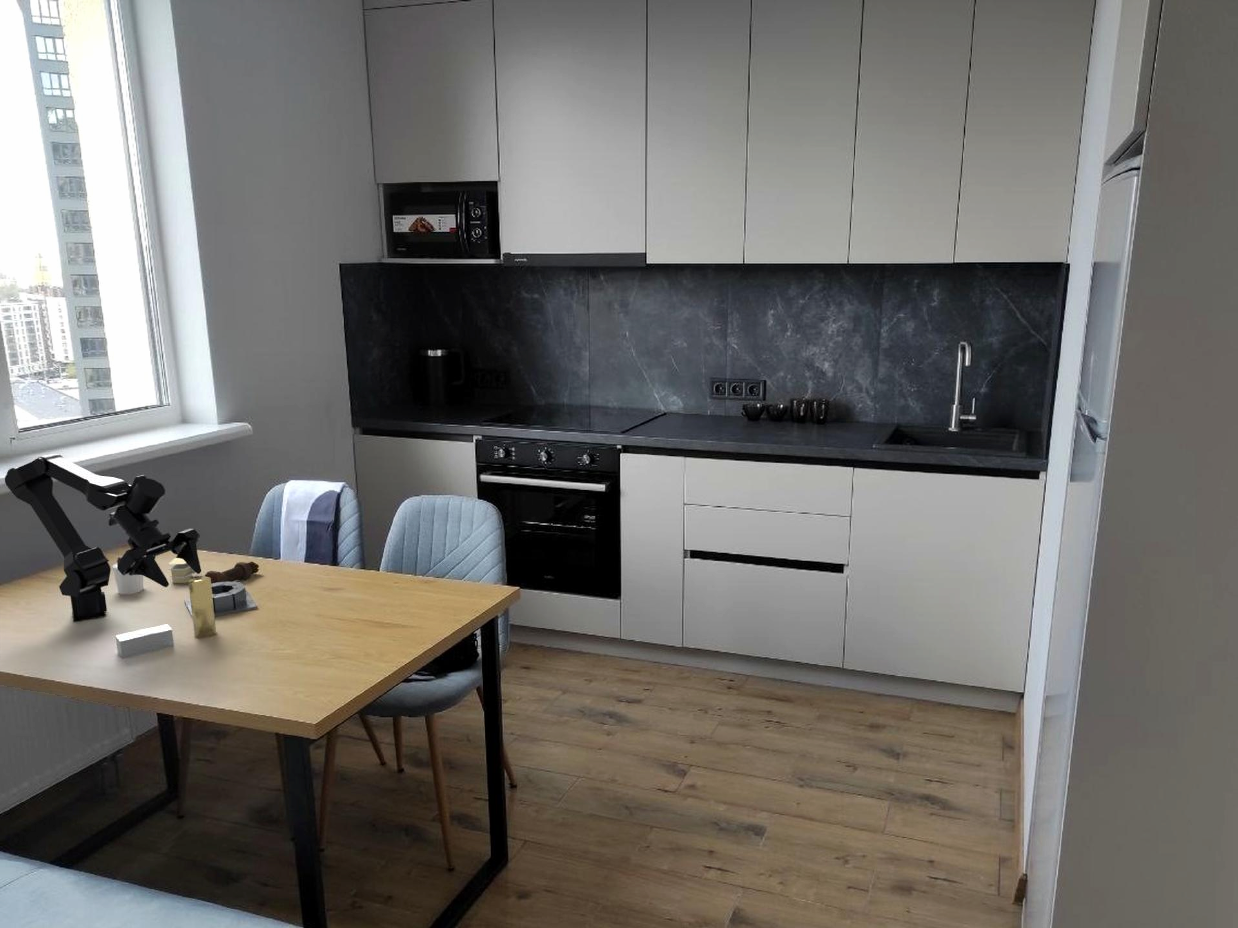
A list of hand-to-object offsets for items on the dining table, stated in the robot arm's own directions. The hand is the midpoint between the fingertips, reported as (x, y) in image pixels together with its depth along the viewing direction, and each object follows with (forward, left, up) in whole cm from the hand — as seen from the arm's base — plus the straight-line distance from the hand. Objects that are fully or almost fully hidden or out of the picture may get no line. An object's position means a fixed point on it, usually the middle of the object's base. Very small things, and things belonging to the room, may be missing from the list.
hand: (184, 579), depth 204 cm
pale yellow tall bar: (+3, -3, -12) cm, 13 cm away
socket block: (+9, +14, -12) cm, 20 cm away
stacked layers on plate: (+5, +39, -13) cm, 42 cm away
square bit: (-9, -5, -12) cm, 16 cm away
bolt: (+15, +29, -13) cm, 35 cm away
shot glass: (-8, +38, -12) cm, 40 cm away
